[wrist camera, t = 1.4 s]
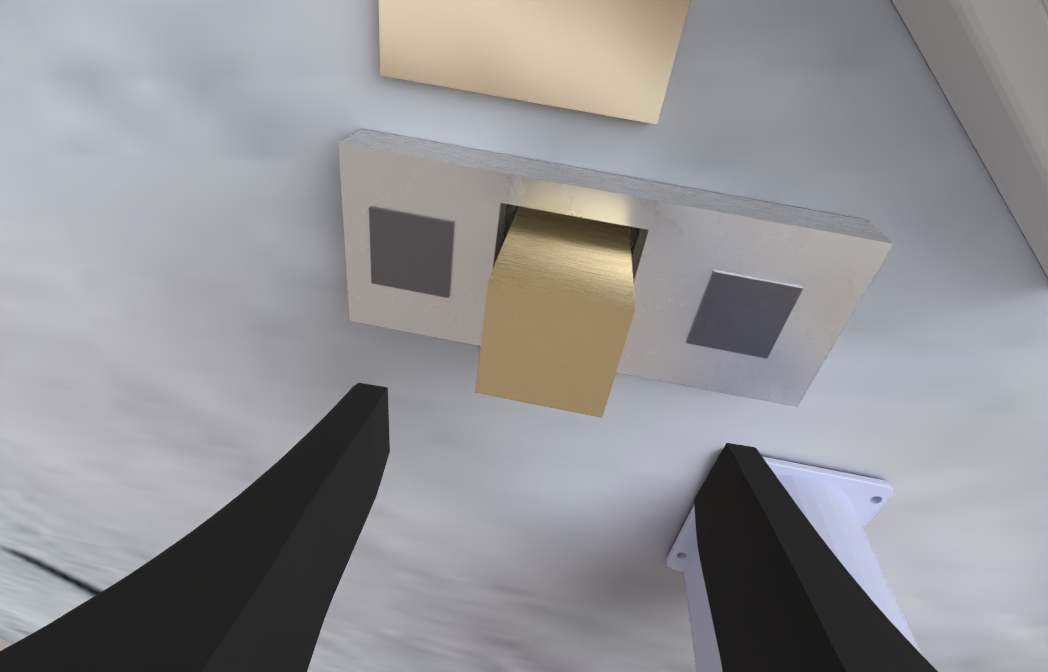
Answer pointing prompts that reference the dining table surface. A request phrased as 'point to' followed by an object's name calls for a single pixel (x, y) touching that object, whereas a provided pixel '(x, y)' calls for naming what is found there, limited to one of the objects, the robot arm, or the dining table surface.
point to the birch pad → (539, 50)
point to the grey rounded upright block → (995, 92)
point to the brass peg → (557, 312)
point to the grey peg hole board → (657, 262)
